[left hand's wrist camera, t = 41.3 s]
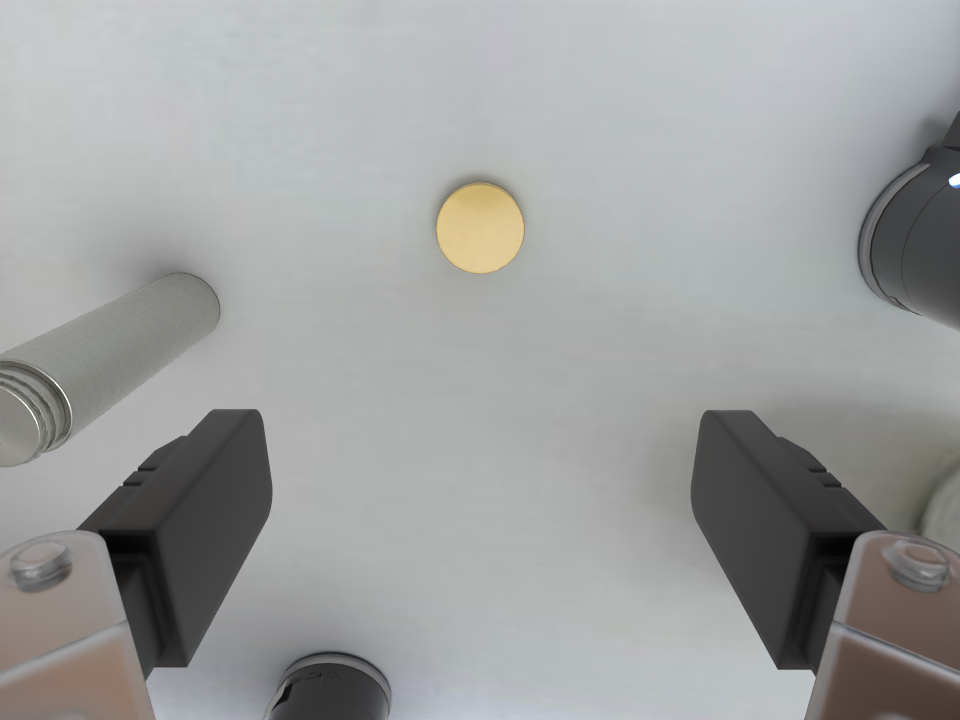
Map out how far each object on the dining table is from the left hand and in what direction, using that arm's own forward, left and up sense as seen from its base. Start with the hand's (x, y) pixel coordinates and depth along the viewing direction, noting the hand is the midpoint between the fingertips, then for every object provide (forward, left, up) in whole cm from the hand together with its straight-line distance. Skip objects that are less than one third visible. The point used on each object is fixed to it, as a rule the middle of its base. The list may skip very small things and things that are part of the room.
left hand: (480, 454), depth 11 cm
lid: (0, 0, -26) cm, 26 cm away
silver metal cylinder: (+10, -17, -28) cm, 34 cm away
